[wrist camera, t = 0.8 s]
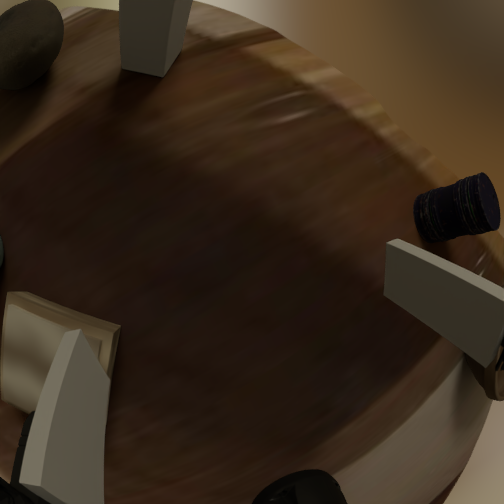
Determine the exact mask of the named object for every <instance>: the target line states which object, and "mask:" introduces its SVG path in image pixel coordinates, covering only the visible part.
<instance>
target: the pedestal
mask: <svg viewBox="0 0 504 504" xmlns="http://www.w3.org/2000/svg"><path fill="white" fill-rule="evenodd" d="M120 328H121V326H120V325H116V324H113V323H110V322H107V321H104V320H101V319H98V318H95V317H92V316H89V315H86V314H83V313H80V312H77V311H75V310H72V309H69V308H66V307H64V306H61V305H58V304H56V303H53V302H51V301H48V300H46V299H43V298H41V297H38V296H36V295H34V294H31V293H29V292H7V298H6V305H5V312H4V320H3V330H2V344H1V400H3V401H5V402H7V403H8V404H10V405H12V406H14V407H16V408H18V409H20V410H22V411H24V412H26V413H28V414H30V413H31V412H32V411H36V408H37V404H38V401H39V398H40V395H41V392H42V389H43V386H44V384H45V381H46V378H47V375H48V373H49V370H50V367H51V365H52V362H53V360H54V357H55V355H56V352H57V350H58V348H59V345H60V343H61V340H62V338H63V336H64V334H65V332H68V331H73V330H77V329H81V330H82V332H83V334H84V336H85V338H86V340H87V342H88V343H89V345H90V347H91V349H92V351H93V352H94V354H95V356H96V358H97V359H98V361H99V363H100V364H101V366H102V368H103V369H104V371H105V373H106V374H107V376H108V378H109V379H110V387H109V395H108V404H107V414H106V424H107V416H108V406H109V397H110V389H111V381H112V374H113V368H114V361H115V355H116V350H117V344H118V339H119V333H120ZM105 427H106V426H105Z"/></svg>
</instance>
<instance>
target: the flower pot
mask: <svg viewBox="0 0 504 504" xmlns="http://www.w3.org/2000/svg"><path fill="white" fill-rule="evenodd" d="M502 288H504V285H503V286H502ZM503 348H504V347H502V346H501V345H500V347H499V350H498V352H497V354H496V357H495V358H494V360H493V361H492V362H491V363H490V364H489V365H488V366H487V367H486V368H485V367H484V366H482V365H481V364H480V363H478V362H477V361H476V360H474V359H473V358H472V357H470V356H469V355H468V354H466V359H467V362H468V364H469V366H470V368H471V370H472V372H473V374H474V376H475V378H476V379H477V381H478V382H479V384H480V385H481V386H482V387H483V388H484V390H485V393H486V395H487V397H488V398H490V399H493V400H497V401H503V400H504V370H502V371H500V369H501V366H502V364H503V362H502V363H501V365H500V367H499V369H498V371H495V366H496V364H497V362H498V359H499V357H500V355H501V353H502V351H503Z"/></svg>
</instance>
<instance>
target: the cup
mask: <svg viewBox="0 0 504 504" xmlns="http://www.w3.org/2000/svg"><path fill="white" fill-rule="evenodd" d="M3 257H4V247H3V241H2V238H1V235H0V268H1V266H2V263H3Z"/></svg>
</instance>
